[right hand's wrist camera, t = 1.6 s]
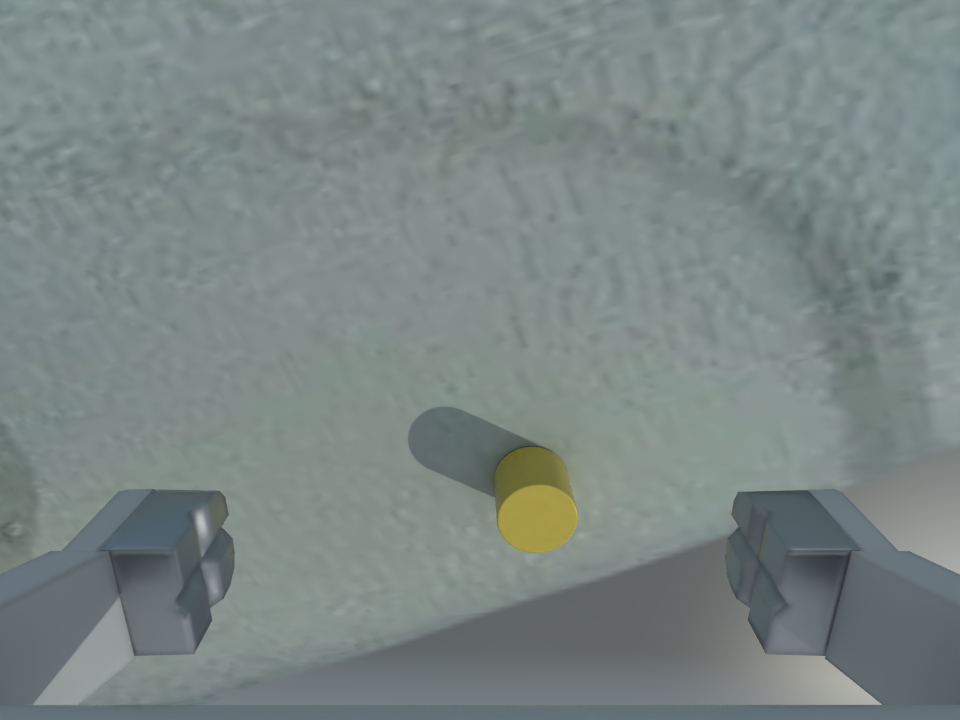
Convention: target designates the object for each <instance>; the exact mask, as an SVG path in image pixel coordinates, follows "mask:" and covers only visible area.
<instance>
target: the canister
mask: <svg viewBox="0 0 960 720" xmlns="http://www.w3.org/2000/svg"><path fill="white" fill-rule="evenodd" d="M494 485H495V500H496V514H497V525H498V529H499V531H500V533H501V535H502V537H503V538H504V539H505V540H506V541H507V542H508V543H509V544H510V545H511V546H513V547H515V548H517V549H519V550H522V551H525V552H531V553H541V552H546V551H550V550H553V549H555V548H557V547H559V546H561V545H562V544H564V543H565V542H566V541H567V540H568V539H569V538H570V537H571V535H572V534H573V532H574V530H575V528H576V525H577V521H578V513H577V508H576V504H575V501H574V497H573V493H572V490H571V486H570V482H569V479H568V475H567V471H566V468H565V466H564V464H563V462H562V460H561V459H560V458H559V457H558V456H557V455H556V454H554V453H553V452H551V451H549V450H547V449H544V448H540V447H523V448H520V449H517V450H514V451H512V452H511V453H509V454H508V455H506V456H505V457H504V458H503V459H502V460H501V462H500V463H499V465H498V466H497V469H496V471H495V476H494Z"/></svg>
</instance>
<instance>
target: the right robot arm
mask: <svg viewBox="0 0 960 720" xmlns="http://www.w3.org/2000/svg"><path fill="white" fill-rule="evenodd" d="M228 515H229V514H228V509H227V504H226V499H225V496H224V495H223V494H222V493H221V492H220V491H202V490H154V489H135V490H123V491H119V492H118V493H117V494H116V495H115V496H114V497H113V498H112V499H111V500H110V501H109V502H108V503H107V504H106V505H105V506H104V507H103V508H102V509H101V511H100V512H99V513H98V514H97V515H96V516H95V517H94V518H93V519H92V520H91V521H90V522H89V523H88V524H87V525H86V526H85V527H84V528H83V529H82V530H81V531H80V532H79V533H78V534H77V535H76V537H75V538H74V539H73V540H72V541H71V542H70V543H69V544H68V545H67V546H66V547H65V548H64V549H63V550H62V551H50V552H48V553H46V554H44V555H42V556H39V557H37V558H35V559H33V560H31V561H29V562H27V563H24V564H22V565H20V566H18V567H16V568H14V569H11V570H9V571H7V572H5V573H3V574H1V575H0V720H960V575H959V574H957V573H955V572H953V571H951V570H948V569H946V568H944V567H942V566H940V565H938V564H936V563H933V562H931V561H929V560H927V559H925V558H923V557H921V556H918V555H916V554H914V553H912V552H910V551H898V550H897V549H896V548H895V547H894V546H893V545H892V544H891V543H890V542H889V541H888V540H887V539H886V537H885V536H884V535H883V534H882V533H881V532H880V531H879V530H878V529H877V528H876V527H875V526H874V525H873V524H872V523H871V522H870V521H869V520H868V519H867V518H866V517H865V516H864V515H863V514H862V512H861V511H860V510H859V509H858V508H857V507H856V506H855V505H854V504H853V503H852V502H851V501H850V500H849V499H848V498H847V497H846V496H845V495H844V494H843V493H842V492H840V491H838V490H835V489H819V490H796V491H757V492H738V493H737V495H736V497H735V500H734V503H733V509H732V514H731V515H732V516H733V518H734V520H735V521H736V523H737V525H738V526H739V527H738V528H737V529H736V530H735V531H734V532H733V533H732V534H731V535H730V536H729V537H728V539H727V547H726V554H725V559H726V570H727V576H728V580H729V583H730V586H731V589H732V590H733V592H734V594H735V596H736V598H737V599H738V600H739V601H741V602H742V603H744V604H745V605H747V606H748V607H750V611H749V617H748V621H749V623H750V625H751V627H752V629H753V631H754V633H755V634H756V636H757V638H758V640H759V642H760V644H761V645H762V647H763V649H764V651H765V653H766V654H777V655H814V656H825V659H826V660H828V661H829V662H830V663H831V664H833V665H834V666H835V667H836V668H838V669H839V670H840V671H841V672H843V673H844V674H845V675H846V676H847V677H849V678H850V679H851V680H852V681H854V682H855V683H856V684H857V685H859V686H860V687H861V688H862V689H864V690H865V691H866V692H867V693H869V694H870V695H871V696H872V697H874V698H875V699H876V700H877V701H879V702H880V703H881V704H882V705H78V704H79V703H80V702H82V701H83V700H84V699H85V698H87V697H88V696H89V695H90V694H92V693H93V692H94V691H95V690H97V689H98V688H99V687H100V686H102V685H103V684H104V683H105V682H107V681H108V680H109V679H110V678H112V677H113V676H114V675H115V674H117V673H118V672H119V671H120V670H122V669H123V668H124V667H125V666H127V665H128V664H129V663H130V662H132V661H133V660H134V659H135V656H146V655H181V654H194V653H195V651H196V649H197V648H198V646H199V644H200V642H201V640H202V638H203V636H204V634H205V633H206V631H207V629H208V627H209V625H210V623H211V621H212V617H211V611H210V607H212V606H213V605H215V604H216V603H218V602H219V601H221V600H222V599H224V596H225V594H226V592H227V590H228V588H229V586H230V584H231V579H232V575H233V570H234V545H233V538H232V537H231V536H230V535H229V534H228V533H227V532H226V531H225V530H224V529H223V528H222V527H221V526H222V525H223V523H224V521H225V520H226V518H227V516H228Z"/></svg>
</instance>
